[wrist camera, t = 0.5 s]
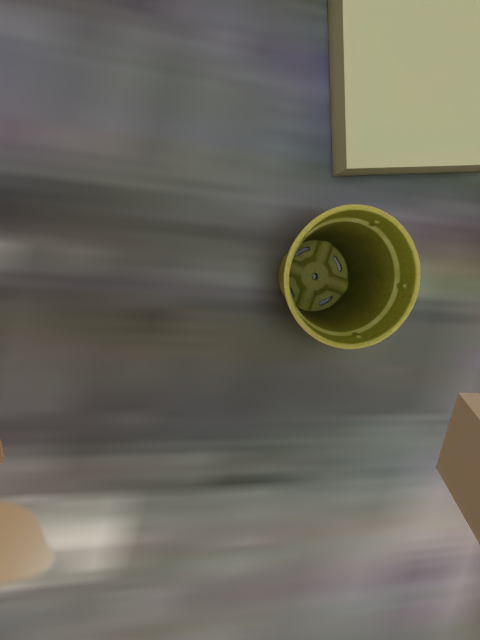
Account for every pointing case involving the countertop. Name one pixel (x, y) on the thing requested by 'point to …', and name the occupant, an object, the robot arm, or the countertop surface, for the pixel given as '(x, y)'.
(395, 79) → the tray
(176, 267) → the countertop surface
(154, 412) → the countertop surface
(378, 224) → the plant pot
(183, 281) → the countertop surface
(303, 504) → the countertop surface
